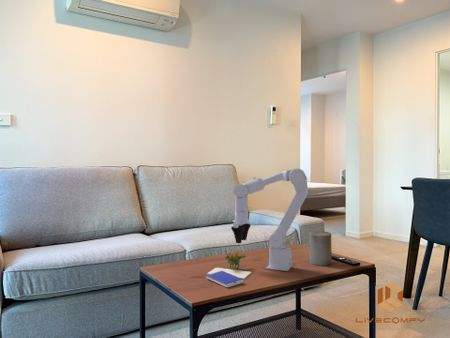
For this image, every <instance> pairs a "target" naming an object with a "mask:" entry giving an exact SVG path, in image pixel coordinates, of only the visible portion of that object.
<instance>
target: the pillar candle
mask: <svg viewBox="0 0 450 338" xmlns="http://www.w3.org/2000/svg"><path fill="white" fill-rule="evenodd" d="M308 234H309V264H311V265H315V266H319V267H323V266H325V267H326V266H327V267H328V266H330V265H332V255H333V254H332V253H333V252H332V233H331V232H329V231H323V230H319V231H318V230H317V231H309V233H308Z"/></svg>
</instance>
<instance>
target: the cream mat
mask: <svg viewBox="0 0 450 338" xmlns="http://www.w3.org/2000/svg"><path fill="white" fill-rule="evenodd" d="M219 271H224V272H227V273H229V274H232V275H234V276H236V277H239V278H242V279H243V280H245V279H246V278H247V277H249V275H250V274H252V271H250V270H249V271H246V270H239V269H233V268H230V269H228V268H223V267H214V268H213V269H211V270H210V271H208V272H207V273H206V275H208V274H212V273H216V272H219Z"/></svg>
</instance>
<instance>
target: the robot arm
mask: <svg viewBox="0 0 450 338" xmlns="http://www.w3.org/2000/svg"><path fill="white" fill-rule="evenodd" d="M281 181H283V182H284V181H285V182H289V181H290V183H291V184H292V185H293V188H294V190H295V194H294V196H293V198H292V199H291V202H290V204H289V206H288V207H287V210H286V211H285V213H284V215H283V217H282V219H281V221H280V222H279V224H278V226H277V228H276V229H275V230H274V231H273V232H272V234H271V235H270V236H269V237H268V243H269V245H268V246H269V247H268V248H269V249H268V257H269V258H268V266H266V268H265V269H267V270H276V271H283V272H284V271H285V272H289V271H290V269H291V268H292V267H293V265H292V264H293V263H292V262H293V261H292V260H293V259H292V248H290V247H287V245H286V243H285V241H286V239H287V234H288V231H289V230H290V227H291V226H292V224H293V222H294V221H295V218H296V217H297V215H298V213H299V211H300V209H301V207H302V206H303V203H304V202H305V199H306V198H307V196H308V194H309V188H308V187H309V185H308V177H307V175H306V174H305V171H304V170H303V169H301V168H293V169H289V170H283V171H280V172H278V173H275V174H273V175H269V176H267V177H264V178H261V177H259V176H258V177H256V176H255V177H253V178H252V179H251V180H248V181H246V180H245V181H243V183H238V184H237V185H235V186H234V187H233V194H234V219H233V220H232V223H233V225H232V226H231V230H232V232H233V235H234V239H235V243H236V244H241V243H242V241H247V239H248V238H247V237H248V233H249V230H250V228H251V223H249V221H250V220H249V218H248V217H249V213H248V211H249V208H248V206H249V200H248V195H251V194H255V193H258V192H260V191H264V188H265V187H266V186H268V185H270V184H275V183H278V182H281Z"/></svg>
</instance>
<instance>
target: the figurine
mask: <svg viewBox="0 0 450 338" xmlns="http://www.w3.org/2000/svg"><path fill="white" fill-rule="evenodd" d="M246 257H247V256H246V255H245V254H241V255H239V250H238V249H235V252H234V253H231V252H229V253H227V254H226V256H225V258H224V260H226V262H225V264H229V268H227V269H235V270H239V267H240V261H241V260H242V259H245V258H246Z"/></svg>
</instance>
